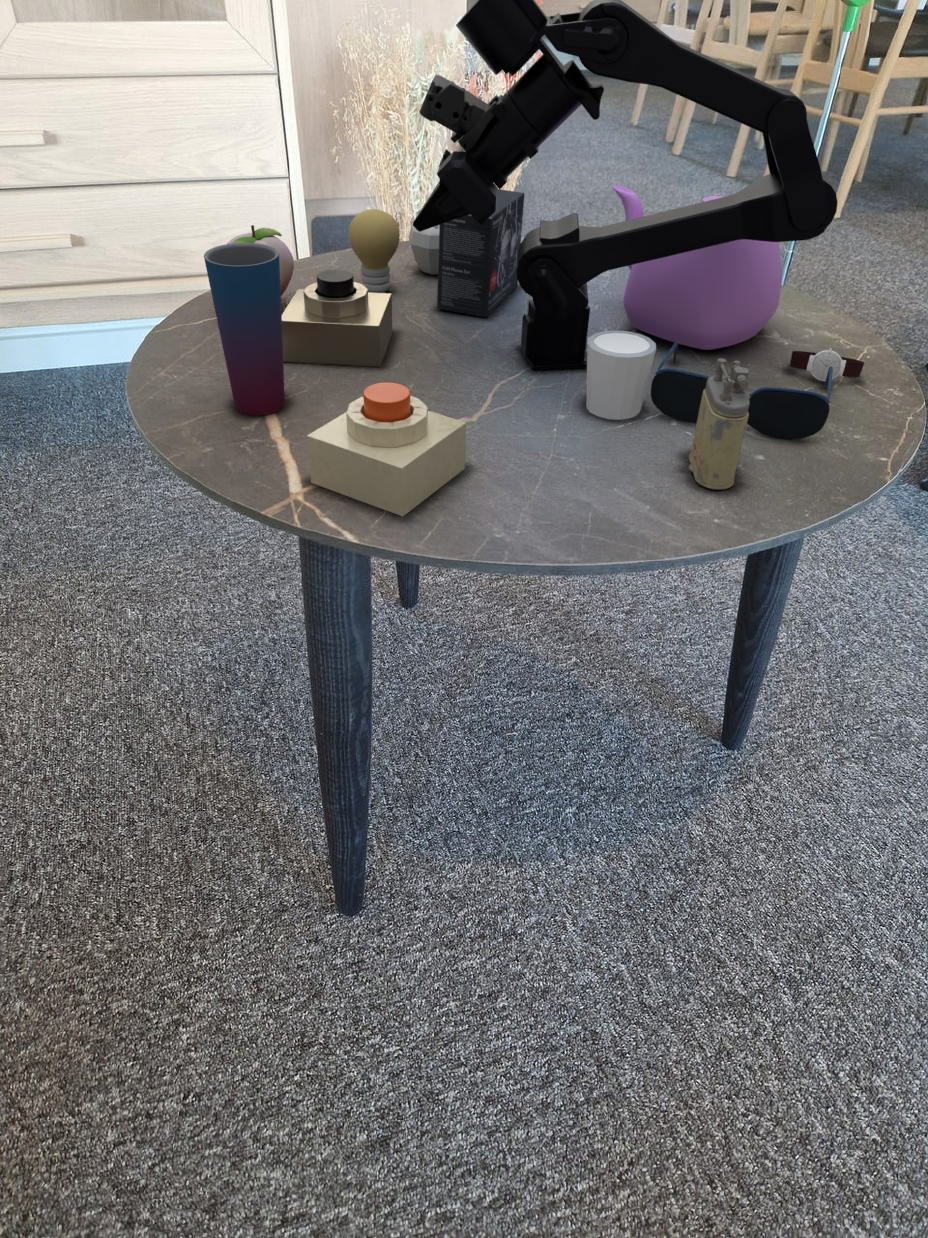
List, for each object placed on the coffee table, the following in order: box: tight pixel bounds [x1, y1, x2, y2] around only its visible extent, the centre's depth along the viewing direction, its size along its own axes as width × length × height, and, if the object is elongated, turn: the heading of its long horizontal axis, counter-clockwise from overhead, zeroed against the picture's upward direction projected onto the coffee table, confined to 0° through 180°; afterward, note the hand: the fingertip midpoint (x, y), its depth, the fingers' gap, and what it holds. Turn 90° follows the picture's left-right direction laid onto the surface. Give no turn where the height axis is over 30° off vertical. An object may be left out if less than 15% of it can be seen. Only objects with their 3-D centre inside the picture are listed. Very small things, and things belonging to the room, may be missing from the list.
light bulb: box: [348, 208, 401, 293], centre depth 119 cm, size 6×6×10 cm
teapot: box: [611, 184, 783, 351], centre depth 112 cm, size 23×21×15 cm
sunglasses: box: [650, 342, 833, 440], centre depth 98 cm, size 17×15×5 cm
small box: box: [436, 188, 525, 318], centre depth 117 cm, size 13×7×12 cm, turn 160°
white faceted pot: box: [408, 224, 439, 276], centre depth 126 cm, size 8×8×7 cm
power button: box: [362, 382, 411, 422], centre depth 80 cm, size 4×4×2 cm
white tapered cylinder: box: [585, 330, 657, 421], centre depth 94 cm, size 7×7×7 cm
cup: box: [203, 243, 286, 416], centre depth 90 cm, size 7×7×15 cm
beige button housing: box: [306, 395, 467, 518], centre depth 82 cm, size 10×10×6 cm
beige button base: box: [281, 281, 393, 368], centre depth 105 cm, size 11×10×6 cm
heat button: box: [316, 269, 355, 298], centre depth 103 cm, size 4×4×2 cm
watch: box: [789, 347, 865, 382], centre depth 103 cm, size 8×5×4 cm, turn 70°
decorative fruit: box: [226, 224, 295, 297], centre depth 113 cm, size 9×8×10 cm
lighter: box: [688, 358, 750, 490], centre depth 83 cm, size 7×4×10 cm, turn 177°
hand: (415, 227), depth 98 cm, fingers closed
